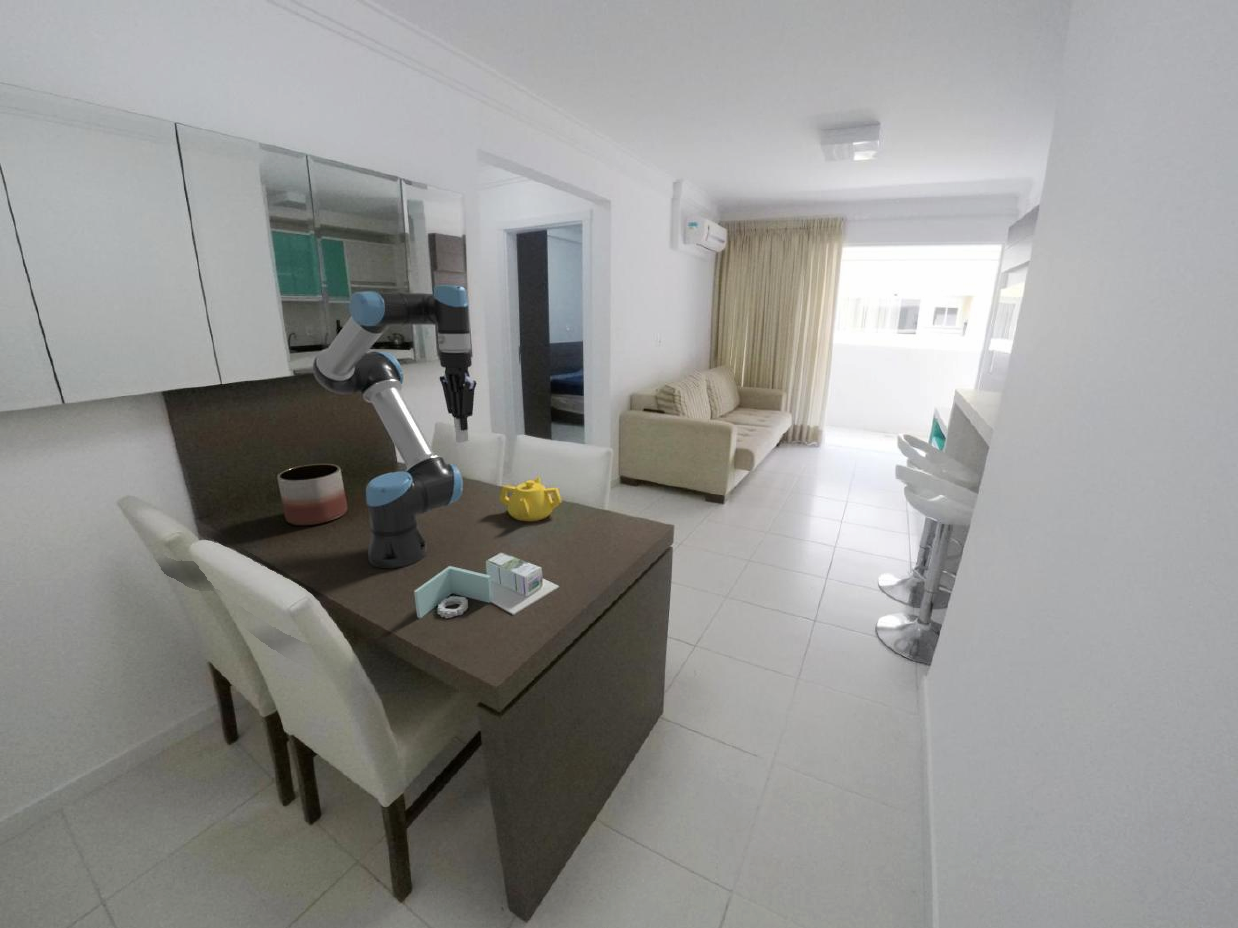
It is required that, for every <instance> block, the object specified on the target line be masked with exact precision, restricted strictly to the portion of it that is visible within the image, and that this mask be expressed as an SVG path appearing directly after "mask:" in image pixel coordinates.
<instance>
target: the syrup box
mask: <svg viewBox="0 0 1238 928" xmlns="http://www.w3.org/2000/svg"><path fill="white" fill-rule="evenodd" d="M485 570H486V575H489V576H491V581H493V582H495V583H498V584H500V585H502V586H505V587H507V588H509V589H511V590H514V591H516V592H518V593H520V594H523V595H525V596H529V595H530V594H532V593H533V592H535V591H536V590H537V589H539V588H540V587H542V585H543V579H544V578H543V568H542V567H541V566H538V565H535V564H533V563H530V562H528V561H525V560H524V559H520V558H518V557H515V556H512V555H510V554H507V553H505V552H503V551H501V552H499V553H498V554H496V555H493V556H492V557H490V558H489V559H487V560H485Z"/></svg>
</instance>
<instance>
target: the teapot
mask: <svg viewBox="0 0 1238 928" xmlns="http://www.w3.org/2000/svg"><path fill="white" fill-rule="evenodd" d="M508 492H510V493H511V494H510V497H508ZM551 494H552V496H551ZM552 497H553V499H552ZM498 501H499V502H501V503H502V504H503V505H504V506H505V507H507V513H509V515H510V516H511V517H512V518H513V519H515V520H517V521H520V522H521V521H522V522H537V521H541V520H544V519H546V518H548V516H549V515H551V513H552V512H553V510H554V509H555V508H556V507H558V506H559V505H561V503H562V502H563V500H562V496H561V494H560V491H559V488H558V487H550V488H549V487H548V488H546V487H545V485H543V484H542V483H541V477H535V478H534V480H532V479H531V480H529V479H528V480H526V481H524V482H523V483H520V484H518V485H517V486H512V485H509V484H503V486H502V488H501V492H500V495H499V498H498Z"/></svg>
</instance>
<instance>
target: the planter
mask: <svg viewBox="0 0 1238 928" xmlns="http://www.w3.org/2000/svg"><path fill="white" fill-rule="evenodd" d="M276 478H277V482H278V483H277V484H278V487H279V492H280V498H281V503H282V507H283V513H284V517H285V521H286V522H287V523H289V524H292V525H296V526H313V525H314V526H316V525H320V524H325V523H328V522H332V521H335V520H336V519H339V518H340V517H342V516H343V515H345V513H346V512H347V511H348V503H347V502H348V501H347V498H346V492H345V486H344V482H343V475H342V470H341V468H340V466H339V465H337V464H332V463H313V464H305V465H299V466H295V467H291V468H288V469H285V470H283V471H281V472H279V473H278V474H277V477H276Z"/></svg>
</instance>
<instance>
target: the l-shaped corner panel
mask: <svg viewBox="0 0 1238 928" xmlns="http://www.w3.org/2000/svg"><path fill="white" fill-rule="evenodd" d="M413 593H414V600H415V601H414V602H415V609H416V616H417V618H418V619H421V618H423V617H424V616H425V615H426V614H428V613H429V612H430V611H432V610H433V609H435V607H436V606H438V607H437V612H436V613H437V614H438V615H440V618H443V617H444V618H445V619H449V618H450V619H451V618H453V617H457V616H461V615H464V612H466V611H467V609H468V608H469V605H468V604H469V601H468V599H467V598H470V599H473V600H477V601H480V602H484V603H488V604H489V603H490V604H491V603H492V602H491V600H492V586H491V576H489V575H487V574H485V573H481V572H476V571H473V570H468V569H465V568H464V569H463V568H459V567H456V566H451V565H449V566H447V567H446V568H444V569H443V570H442V571H440V572H439V573H437V574H436V575H435V576H433V577H432V578H430V579H428V581H426V582H425V583H423V584H422V585H421V586H419V587H418V588H416V589H415V590H413ZM451 594H454V595H456V596H454V595H453V596H451ZM452 605H459V606H458V607H457V608H447V607H448V606H452Z"/></svg>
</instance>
